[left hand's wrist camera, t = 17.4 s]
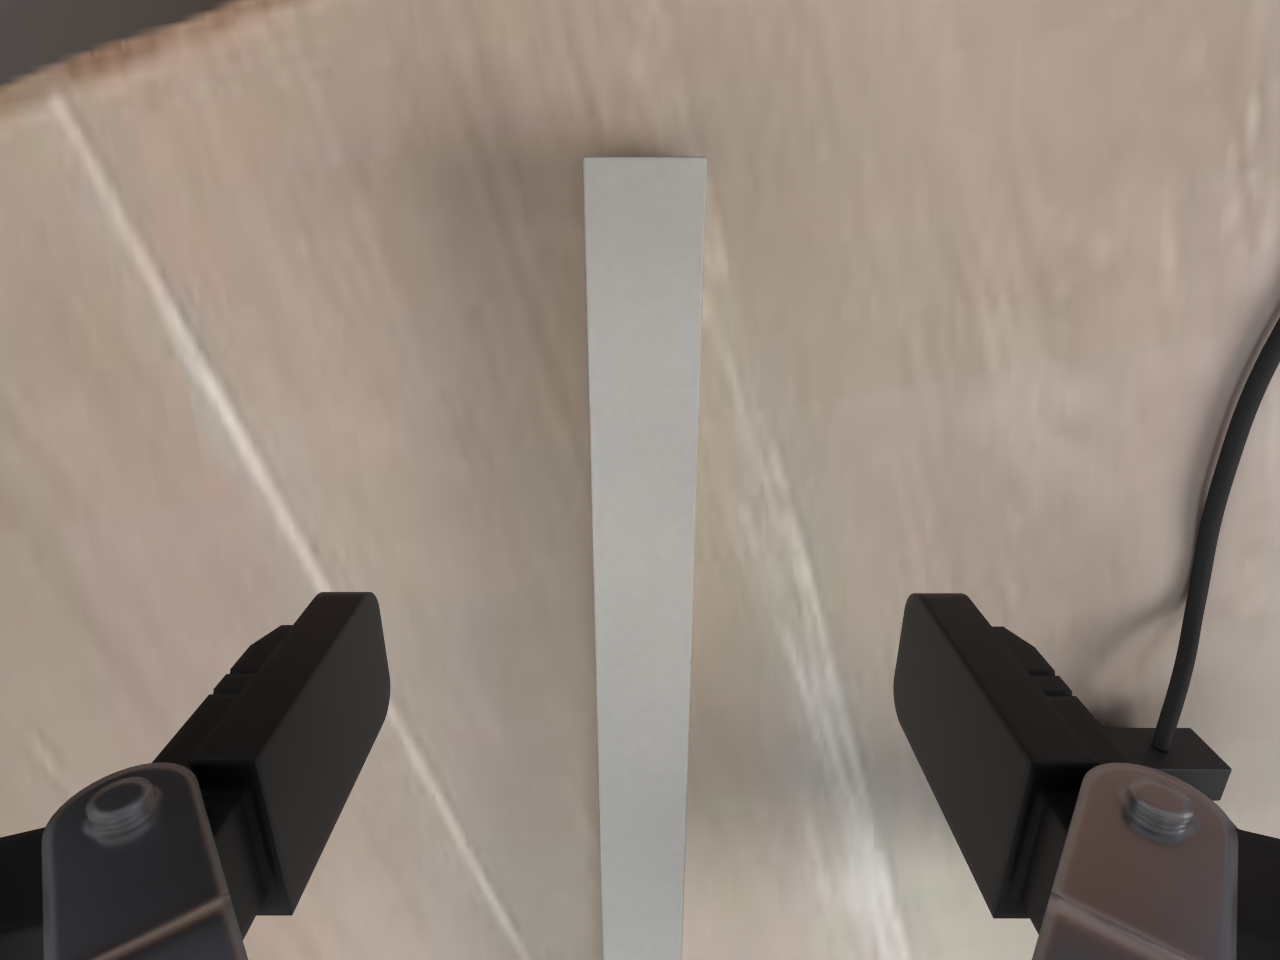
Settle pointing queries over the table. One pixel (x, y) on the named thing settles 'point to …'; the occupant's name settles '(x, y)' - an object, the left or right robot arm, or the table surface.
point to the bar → (643, 528)
